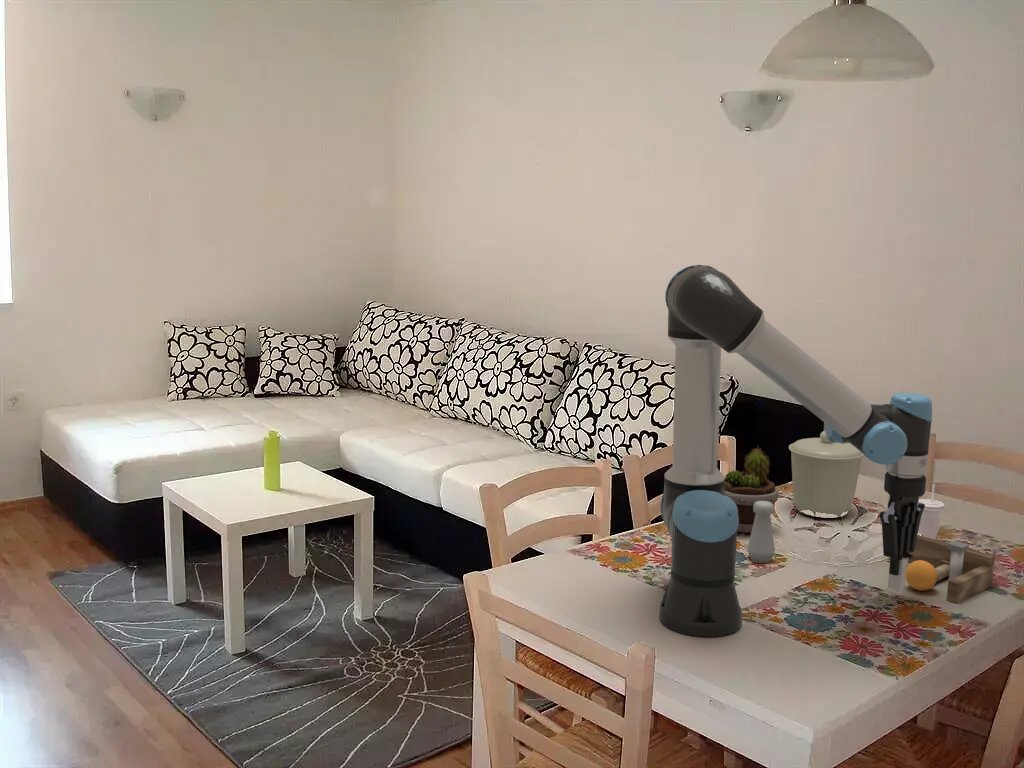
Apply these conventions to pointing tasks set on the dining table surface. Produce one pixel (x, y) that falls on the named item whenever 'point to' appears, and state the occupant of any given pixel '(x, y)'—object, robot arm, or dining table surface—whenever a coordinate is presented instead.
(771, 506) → the salt shaker
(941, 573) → the maple pin
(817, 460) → the canister
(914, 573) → the ball
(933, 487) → the smoothie
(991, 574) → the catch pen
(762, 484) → the flowerpot
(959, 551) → the grey pin
